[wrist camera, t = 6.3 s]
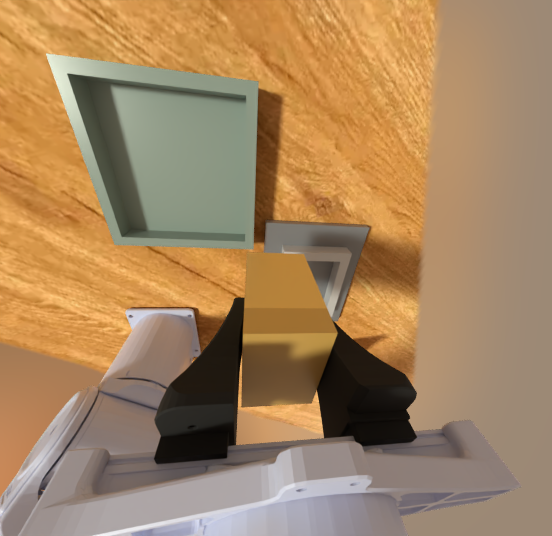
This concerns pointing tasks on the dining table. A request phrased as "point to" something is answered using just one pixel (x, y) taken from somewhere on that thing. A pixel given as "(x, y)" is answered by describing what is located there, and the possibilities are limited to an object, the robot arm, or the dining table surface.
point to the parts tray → (165, 151)
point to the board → (321, 253)
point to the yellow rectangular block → (283, 331)
